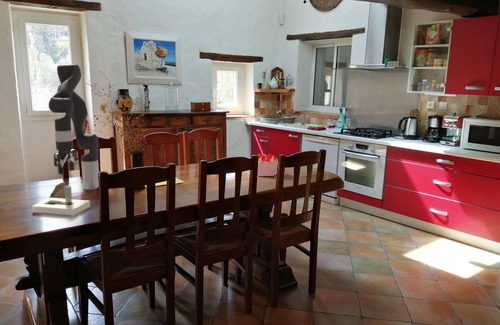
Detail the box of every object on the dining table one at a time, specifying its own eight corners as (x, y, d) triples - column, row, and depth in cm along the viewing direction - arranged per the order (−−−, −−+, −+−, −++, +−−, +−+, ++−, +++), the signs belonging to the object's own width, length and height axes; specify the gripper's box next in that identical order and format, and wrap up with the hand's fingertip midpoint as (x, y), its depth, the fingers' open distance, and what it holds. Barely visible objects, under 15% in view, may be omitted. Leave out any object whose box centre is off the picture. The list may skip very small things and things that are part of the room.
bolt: (68, 207, 194) (66, 185, 191) (76, 208, 193) (75, 185, 190) (62, 211, 189) (60, 187, 186) (70, 211, 188) (69, 188, 186)
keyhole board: (51, 204, 200) (50, 197, 199) (90, 207, 197) (89, 200, 196) (32, 213, 186) (31, 206, 186) (73, 216, 183) (73, 209, 182)
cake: (275, 178, 267) (276, 158, 264) (247, 176, 271) (248, 156, 268) (279, 172, 285) (280, 153, 282) (254, 170, 290) (254, 151, 287)
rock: (46, 200, 199) (67, 196, 203) (45, 185, 202) (65, 181, 206) (51, 206, 209) (71, 202, 212) (49, 192, 212) (69, 188, 215)
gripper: (66, 137, 191) (68, 168, 194) (47, 141, 177) (50, 175, 181) (79, 137, 190) (82, 169, 193) (61, 142, 176) (64, 176, 180)
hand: (66, 172), depth 187 cm, fingers open, 8 cm apart
